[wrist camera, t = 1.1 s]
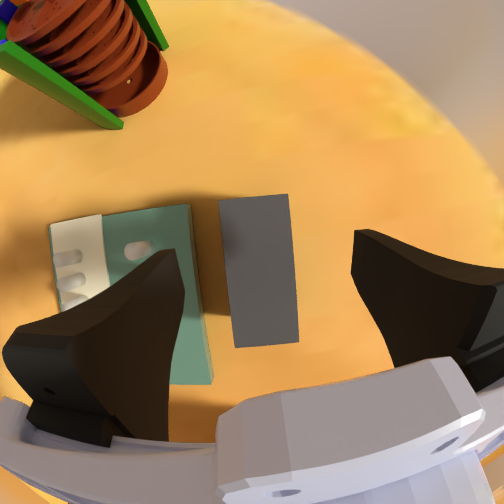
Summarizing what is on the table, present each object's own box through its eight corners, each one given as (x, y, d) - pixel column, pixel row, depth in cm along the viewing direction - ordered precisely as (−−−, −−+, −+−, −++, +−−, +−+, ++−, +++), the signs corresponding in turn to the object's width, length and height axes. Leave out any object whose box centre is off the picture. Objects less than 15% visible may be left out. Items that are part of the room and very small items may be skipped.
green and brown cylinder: (154, 129, 22) (-18, -11, 2) (75, 131, 22) (-86, 64, 2) (179, 39, 21) (106, -118, 1) (103, 47, 21) (0, -57, 1)
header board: (213, 375, 24) (205, 404, 19) (86, 370, 24) (64, 390, 19) (190, 202, 22) (175, 197, 18) (57, 224, 22) (27, 225, 18)
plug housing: (288, 313, 23) (299, 342, 17) (240, 317, 23) (234, 347, 17) (279, 201, 22) (287, 193, 16) (228, 206, 22) (218, 200, 16)
